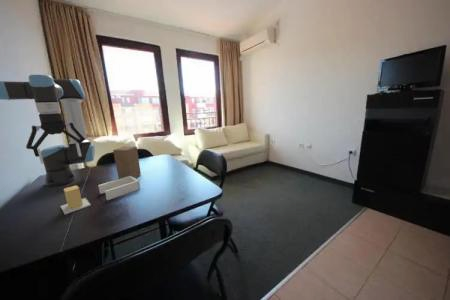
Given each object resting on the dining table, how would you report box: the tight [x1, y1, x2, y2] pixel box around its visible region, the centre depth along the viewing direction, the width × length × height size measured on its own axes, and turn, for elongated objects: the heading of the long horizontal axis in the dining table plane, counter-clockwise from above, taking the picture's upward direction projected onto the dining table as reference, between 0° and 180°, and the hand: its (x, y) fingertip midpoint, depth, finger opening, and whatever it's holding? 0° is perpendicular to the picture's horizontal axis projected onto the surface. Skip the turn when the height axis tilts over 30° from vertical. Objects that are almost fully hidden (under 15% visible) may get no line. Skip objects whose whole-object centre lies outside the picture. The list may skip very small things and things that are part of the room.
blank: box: [63, 185, 83, 209], centre depth 90 cm, size 5×5×9 cm
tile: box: [60, 197, 92, 215], centre depth 91 cm, size 10×10×1 cm
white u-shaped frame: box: [97, 176, 141, 201], centre depth 106 cm, size 12×17×5 cm
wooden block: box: [112, 145, 142, 180], centre depth 124 cm, size 10×10×20 cm
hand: (62, 159), depth 87 cm, fingers open, 13 cm apart
